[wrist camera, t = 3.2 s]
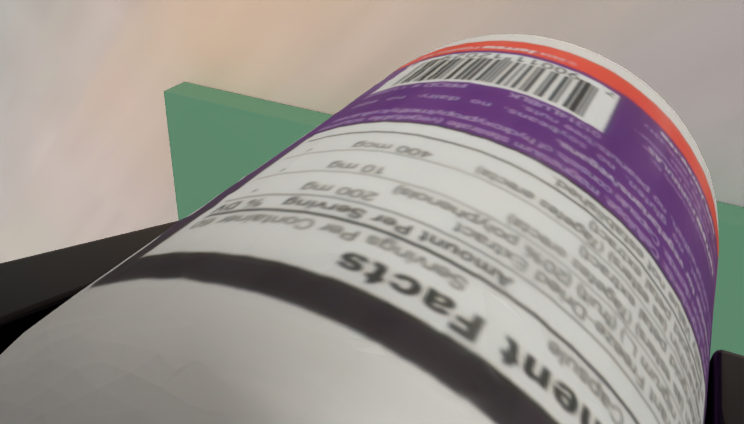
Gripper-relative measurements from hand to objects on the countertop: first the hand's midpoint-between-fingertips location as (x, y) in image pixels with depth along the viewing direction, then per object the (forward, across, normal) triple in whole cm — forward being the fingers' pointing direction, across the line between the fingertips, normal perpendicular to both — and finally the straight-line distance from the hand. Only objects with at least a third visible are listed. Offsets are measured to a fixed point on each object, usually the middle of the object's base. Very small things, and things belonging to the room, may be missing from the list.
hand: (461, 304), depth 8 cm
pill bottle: (+3, 0, 0) cm, 3 cm away
